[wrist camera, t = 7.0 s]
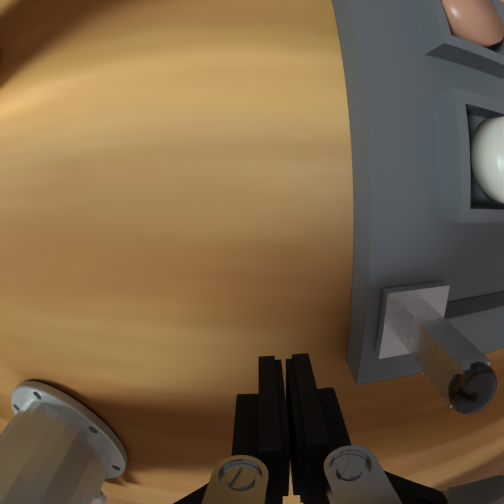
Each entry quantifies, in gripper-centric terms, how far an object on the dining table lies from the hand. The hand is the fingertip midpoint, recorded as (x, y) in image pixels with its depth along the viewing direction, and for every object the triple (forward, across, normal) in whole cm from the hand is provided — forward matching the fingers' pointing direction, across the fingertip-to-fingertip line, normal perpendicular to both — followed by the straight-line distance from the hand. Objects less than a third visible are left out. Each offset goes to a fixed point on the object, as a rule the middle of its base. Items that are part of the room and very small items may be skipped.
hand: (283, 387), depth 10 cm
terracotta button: (+4, -11, -16) cm, 20 cm away
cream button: (+3, -11, -8) cm, 14 cm away
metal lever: (+4, -7, 0) cm, 8 cm away
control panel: (+7, -11, -8) cm, 15 cm away
